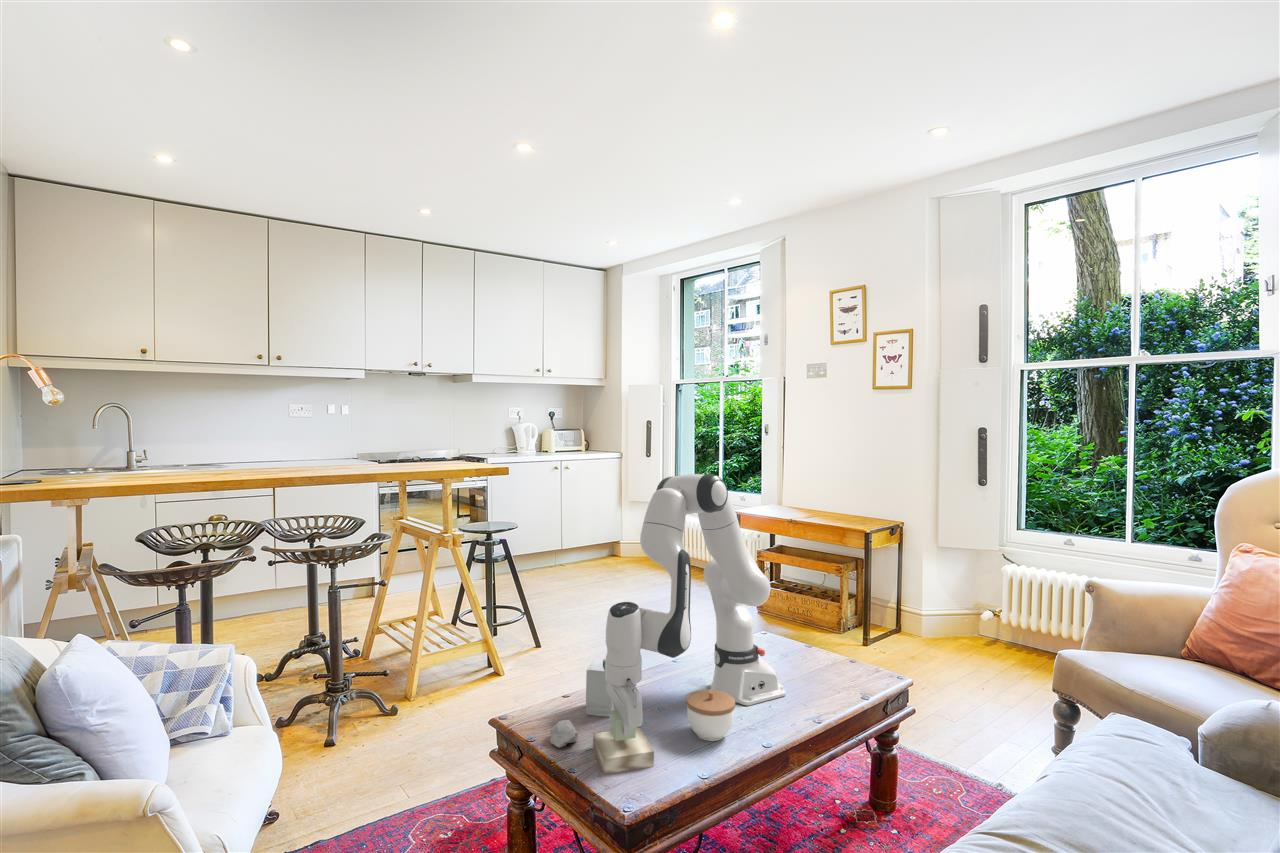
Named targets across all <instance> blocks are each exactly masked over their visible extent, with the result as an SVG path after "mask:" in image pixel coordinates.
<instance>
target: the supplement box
mask: <svg viewBox="0 0 1280 853" xmlns="http://www.w3.org/2000/svg"><path fill="white" fill-rule="evenodd" d="M585 675H586V676H585V677H586V678H585V681H586V682H585V685H586V686H585V689H586V690H585V714H586V715H589V716H596V717H597V716H598V717H604V718H605V717H606V718H607V717H608V718H610V711H613V710H614V704H613V702H612V701H611V699H610V697H609V696H608V694H607V691H606V686H605V670H604V668H603V660H592V662H591V663H590V664H589V666H588V668H587V669H586V674H585Z"/></svg>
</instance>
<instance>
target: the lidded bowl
mask: <svg viewBox="0 0 1280 853" xmlns="http://www.w3.org/2000/svg"><path fill="white" fill-rule="evenodd" d="M735 707H736V702H735V700H734V698H733V697H732V696H731V695H729V694H727V693H725V692H722V691H717V690H710V689H700V690H696V691H692V692H691V693H689V694H688V695H687V697H686V711H687V712H686V713H687V720H688V723H689V726H690V728H691V730H692V731H693V732H694V733H695V735H696V736H697V737H698V738H699V739H701V740H704V741H706V742H716V741H721V740H722V739H723V738H724V737H725V736H726V735H727V734H728V733H729V731H730V730H731V728H732V727H733V723H734V720H735Z"/></svg>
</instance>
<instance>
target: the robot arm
mask: <svg viewBox="0 0 1280 853" xmlns="http://www.w3.org/2000/svg"><path fill="white" fill-rule="evenodd" d="M656 487H657V488H656V491H654V493H653V494H652V496H651V498H650V500H649V503H648V506H647V508H646V512H645V515H644V519H643V522H642V527H641V530H640V531H641V532H640V542H639V543H640V546H641V549H642V551H643V552H644V554H645V555H646V557H647V558H649V559H650V560H651V561H653V562H654V563H656V564H657V565H659V566H661V567H662V568H664V570H665V571H667V574H669V576H670V582H671V583H670V584H671V585H670V586H671V587H670V588H671V589H670V604H669V606H670V607H669V611H668V613H667V612H662V611H656V610H652V609H648V608H642V607H639V605H638V604H637V603H635V602H632V601H621V602H618V603H615V604H613V605H612V606H611V607H610V608H609V610H608V614H607V616H606V617H607V618H606V623H605V625H606V626H605V645H606V654H605V658H603V659H602V661H603V668H604V670H605V686H606V691H607V694H608V696H609V697H610V699H611V701H612V702H613V704H614V710H617V711H618V712H619V714H620V716H621V718H622V719H623V722H624V726H623V727H622V729H623V730H622V732H623V734H624V736H629V735H631V728H632V727H641V726H642V724H643V705H642V704H643V703H642V702H643V701H642V700H643V699H642V696H641V693H640V691H639V689H638V688H637V684H638V683H640V682H641V681H642V680H643V679H642V676H643V674H642V673H643V672H642V669H643V668H642V665H643V663H642V662H643V660H642V655H641V650H644V651H645V650H646V651H649V652H654V653H659V654H661V655H662V656H666V657H670V658H674V659H675V658H677V657H679V656H680V655H682V654H683V653H685V652H686V651H687V650H688V648H689V647H690V645H691V640H692V626H691V624H692V623H691V590H692V589H691V586H692V584H691V583H692V582H691V580H692V579H691V578H692V571H691V570H692V568H691V567H692V566H691V563H692V562H691V558H690V554H689V553H688V552H687V551H686V550H685V548H684V542H683V537H684V532H685V524H686V516H687V515H692V514H697V517H698V522H699V526H700V529H701V532H702V535H703V539H704V543H705V546H706V549H707V551H708V554H709V555H710V556H711V557H712V558H713V559H711V560H709V561H708V562H707V563H706V565H705V566H704V569H703V572H702V573H703V574H702V577H703V581H704V582H705V584H706V586H707V588H708V590H709V593H710V596H711V601H712V604H713V609H714V613H715V614H714V616H715V622H716V623H715V624H716V626H715V628H716V632H715V634H716V635H715V636H716V641H715V643H714V652H713V653H714V656H713V657H714V673H713V677H712V682H711V685H710V688H709V690H717V691H722V692H725V693H727V694H729V695H731V696H732V697H733V698H734V700H735V704H737V703H738V704H741V705H743V706H752V705H756V704H759V703H763V702H767V701H771V700H774V699H778V698H782V697H785V696H786V695H787V694H786V692H787V691H786V688H785V687H784V686H783V684H782V683H780V682H779V681H778V680H779V679H778V676H777V673H776V671H775V669H774V668H773V667H772V666H771V665H769V664H768V663H767V662H766V661H765V660H763V658H761V657H765V655H766V651H765V649H764V648H762V647H759V646H758V645H756V644H754V628H755V627H754V625H755V624H754V623H755V622H754V619H753V616H752V614H751V613H750V611H749V608H748V607H760V606H763V604H764V603H766V602H767V601H768V599H769V597H770V595H771V582H770V580H769V579H768V577H767V576H766V575H765V574H764V572H763V571H762V570H761V569H760V568H759V566H758V564H757V563H756V561H755V559H754V557H753V556H752V554H751V552H750V551H749V548H748V546H747V544H746V542H745V540H744V537H743V533H742V529H741V526H740V522H739V520H738V516H737V512H736V509H735V506H734V505H733V502H732V500H731V497H730V495H729V493H728V486H727V484H726V483H725V481H724V480H723V479H722V478H721V477H720V476H718V475H716V474H711V473H705V474H704V473H702V474H701V473H688V474H683V475H677V476H675V475H670V476H667V477H665V478H663V479H662V480H661V481H659V483H658V485H657V486H656Z"/></svg>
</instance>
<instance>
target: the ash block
mask: <svg viewBox="0 0 1280 853" xmlns="http://www.w3.org/2000/svg"><path fill="white" fill-rule="evenodd" d="M592 749H593V751H594V753H595V756H596V758H597V760H598V763H599V764H600V767H601V769H602V771H603V773H604V775H609V774H616V773H619V772H625V771H626V772H627V771H632V770H638V769H639V770H640V769H646V768H652V767H654V766H655V762H654V761H655V751H654V749H653V747H652V745H651V744H650V743H649V741H648V740H647V738H646V736H645V735H644V733H643V731H642V729H641V727H640V726H638V727H636V738H632V739H626V740H619V741H615V739H614V737H613V735H612V734H611V732H610V730H609V731H604V732H603V731H602V732H595V733H592Z"/></svg>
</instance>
